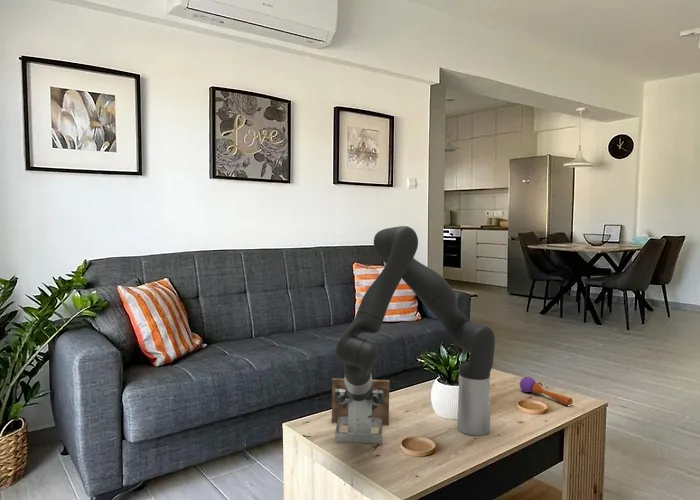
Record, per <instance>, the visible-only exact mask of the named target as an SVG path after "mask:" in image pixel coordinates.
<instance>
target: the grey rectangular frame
mask: <svg viewBox="0 0 700 500" xmlns="http://www.w3.org/2000/svg"><path fill="white" fill-rule="evenodd" d="M342 425H343V426H348V416H339V417H338V421H337V423H336V428H335V431H334V442H335V443H339V442H340V443H358V444H362V443H363V444H382V441H383V428H382V427H383V425H382V418H379V417H372V419H371V427H378V433H371V434H369V433H348V432H342V431H341V426H342ZM340 431H341V432H340Z"/></svg>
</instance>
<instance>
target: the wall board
mask: <svg viewBox="0 0 700 500" xmlns="http://www.w3.org/2000/svg"><path fill="white" fill-rule="evenodd" d="M344 381H345V380H344V378H339V377H338V378H334V377H332V381H331V384H332V386H331V388H332V389H331V395H332V396H331V424H332V423H333V424H334V423H336V424H337V421H338V417H339V416H348V406H349V403H347V407H346V409H344V407H342V405H341V402H339V403H335V387H336V386H339V389H345V383H344ZM379 388H383V395H384V400H383V404H382V405H381V404H379V403H378V404H377V408H375V410H373V404H372V417H379V418H382V426H383V425H384V426H388V425H389V424H390V423H389V422H390V421H389V419H390V379H388V380H387V379H372V389H373V390H379Z"/></svg>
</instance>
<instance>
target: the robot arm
mask: <svg viewBox="0 0 700 500" xmlns="http://www.w3.org/2000/svg"><path fill="white" fill-rule="evenodd" d="M418 246H419V239H418V235H417V233H416V231H415V230H414V228H412V227H410V226H407V225H402V226H394V227H388V228H383V229H380V230H378V231H377V232H376V234H375V235H374V237H373V248H374V250H375V252H376V254H377V255H378V257H379V259H380V260H381V261H383V262H384V263H385V265H384V267H383V269H382V270H381V272H380V274H378V276H377V277H376V279H375V280H374V281H373V282H372V283H371V285H370V286H369V287H368V288H367V290H366V291H365V293H364V294H363V297H362V299H361V301H360V304H359V306H358V309H357V311H356V314H355V317H354V319H353V320H352V322H351V323H350V325H349V326H348V327H347V329H346V331H345V332H344V333H343V334H342V335H341V337H340V338H339V340H338V341H337V343H336V346H335V351H334V352H335V353H334V354H335V356H336V359H337V360H338V361H340V362H341V363H344V368H343V369H344V378H343V379H344V380H345V381H344V383H345V389H339V386H336V387H335V403H339V402H341V405H342V407H344V409H346V407H347V403H350V402H352V401H365V402H367V403H368V404H373V410H375V408H377V404H378V403H379V404H381V405H382V404H383V400H384V395H383V388H379V390H373V389H372V380H373V376H372V368H373V366H374V365H375V363H376V362H377V358H378V355H379V354H378V353H379V351H378V347H377V345H376V344H375V343H374V342H372V341H370V340H368V339H364V338H361V337H358V336H359V335H360V334H362V333H368V334H376V333H378V332H379V331H380V329H381V327H382V324H383V322H384V318H385V316H386V314H387V311H388V309H389V305H390V303H391V300H392V298H393V296H394V293H395V292H396V289H397V287H399V284H400V282H401V281H402V280H403V282H405V284H406V285H407V286H408V287H409V289H411V290H412V292H413V293H414V294H415V295H416V297H418V299H419V300H420V301H421V302H422V304H423V305H424V306H425V307H426V308H427V309H428V311H430V313H432V315H433V316H434V317H435V318H436V319H437V320H438V322H440V323H441V324H442V326H444V328H445V330H446V331H447V332H448V334H449V335H450V337H451V339H452V340H453V342H454V343H455V344H456V346H457V347H458V348H459V349H461V350H462V351H464V352H467V353H470V354H469V355H470V356H469V361H467V362H466V361H465V362H462V364H460V365H459V369H458V372H459V374H458V398H457V401H458V402H457V404H458V405H457V421H456V422H457V424H456V425H457V429H458V431H460V432H461V433H463V434H465V435H469V436H484V435H486V434H487V435H489V434H491V433H490V428H491V427H490V426H491V406H492V405H491V402H490V385H491V384H490V381H491V372H492V368H493V365H494V357H495V346H496V340H495V339H496V337H495V332H494V331H493V330H492V328H491V327H489V326H487V325H485V324H481V323H477V322H474V321H471V320H470V319H468V317H467V316H466V315H465V314H464V313H463V312H462V311H461V310H460V308H459V305H458V298H457V294H456V292H455V291H454V290H453V288H452V286H451V285H450V284H449V283H448V281H447V280H446V279H445V278H444V277H443V276H442V275H441V274H439V273H438V272H437V271H436V270H433V269H431V268H429V267H428V266H426V265H424V263H421V262H419V260H417V259H416V258H414V257H415V255H416V253H417V251H418Z"/></svg>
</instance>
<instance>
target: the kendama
mask: <svg viewBox="0 0 700 500" xmlns="http://www.w3.org/2000/svg"><path fill="white" fill-rule="evenodd" d="M519 387H520V389H521V391H522V392H524V391H525V392H524V393H526V392H532V394H534V393H535V394H536V395H537V394H545V395H546V396H548V397H550V398H551V399H553V400H555V401H556V402H558V403H560V404H562V405H563V404H564V405H563V406H565V405H567V406H568V405H570V404H573V398H572V397H568V396H565V395H563V394H558V393H555V392H551V391H548V390H545V389H544V388H543V387H542V385H540V384H539V382H536V380H535V379H534V378H533V377H531V376H525V377H523V378H521V379H520V381H519ZM535 394H534V395H535ZM567 406H566V407H567Z"/></svg>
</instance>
